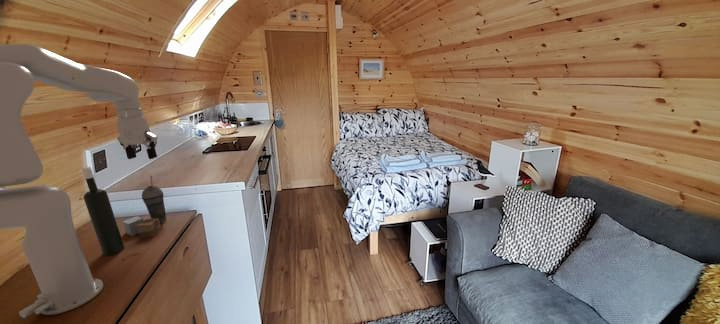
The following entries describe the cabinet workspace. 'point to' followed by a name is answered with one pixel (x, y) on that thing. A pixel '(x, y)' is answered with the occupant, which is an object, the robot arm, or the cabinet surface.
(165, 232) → the cabinet surface
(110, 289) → the cabinet surface
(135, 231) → the light grey cube
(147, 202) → the beverage cup
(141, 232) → the walnut block
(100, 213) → the wine bottle
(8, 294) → the cabinet surface
